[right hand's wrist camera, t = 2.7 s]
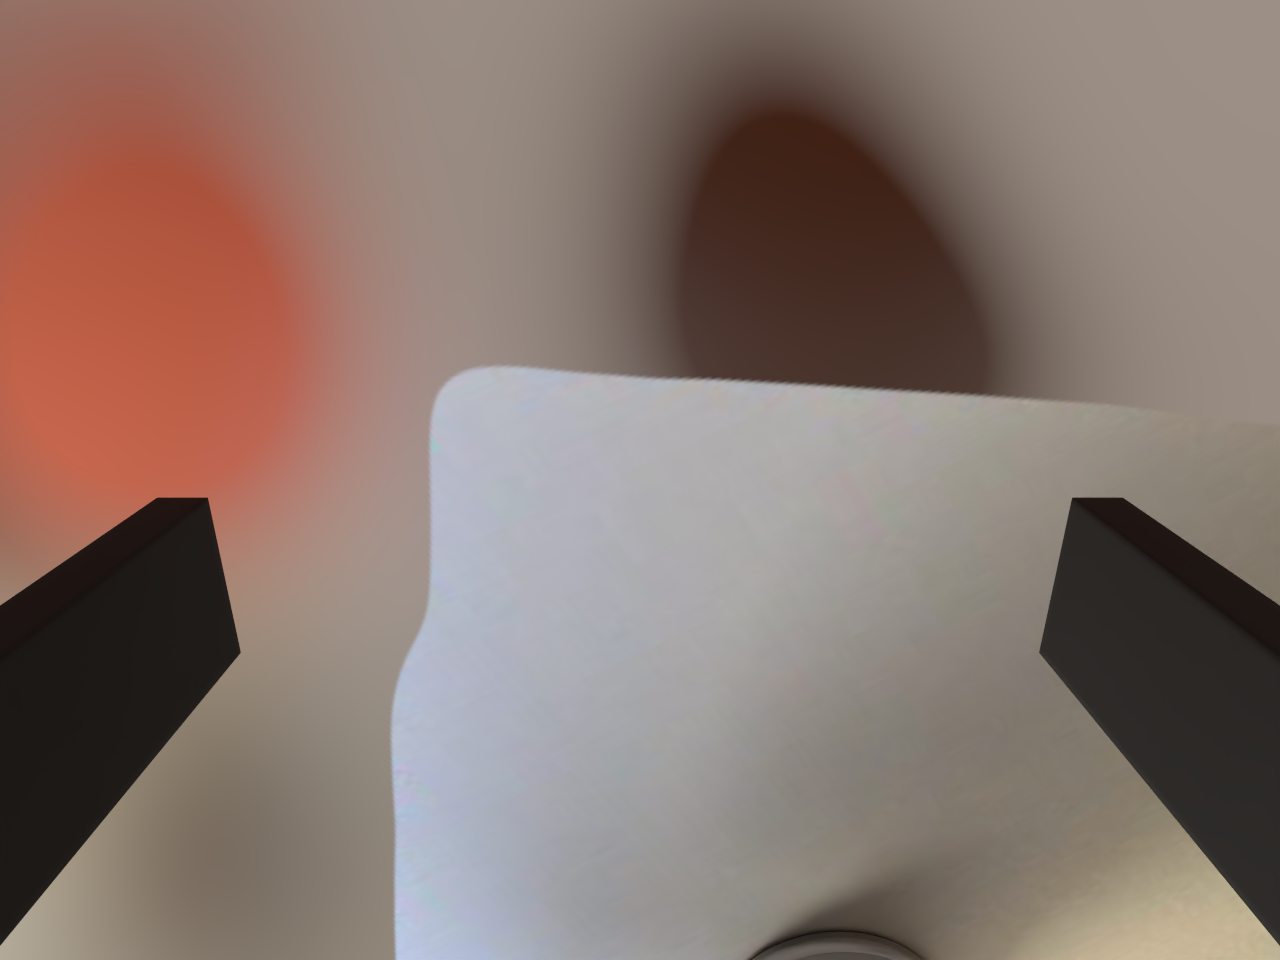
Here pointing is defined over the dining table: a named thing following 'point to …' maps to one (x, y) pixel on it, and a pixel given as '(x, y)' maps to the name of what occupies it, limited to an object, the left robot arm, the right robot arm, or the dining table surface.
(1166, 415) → the dining table surface
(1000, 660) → the dining table surface
